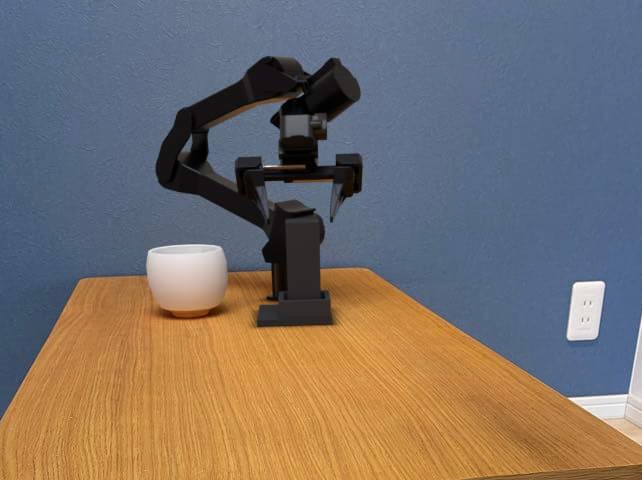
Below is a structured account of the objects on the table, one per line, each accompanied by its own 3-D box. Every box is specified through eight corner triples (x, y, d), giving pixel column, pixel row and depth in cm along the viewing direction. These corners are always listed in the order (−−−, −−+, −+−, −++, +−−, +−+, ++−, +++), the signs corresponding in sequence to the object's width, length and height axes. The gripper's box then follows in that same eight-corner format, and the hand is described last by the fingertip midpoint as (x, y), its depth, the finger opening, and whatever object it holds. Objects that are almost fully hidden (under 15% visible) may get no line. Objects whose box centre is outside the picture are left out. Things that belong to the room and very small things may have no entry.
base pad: (259, 311, 134) (258, 288, 133) (329, 309, 134) (329, 286, 133) (257, 326, 124) (256, 302, 123) (332, 324, 125) (332, 300, 123)
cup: (136, 320, 131) (128, 254, 126) (174, 304, 141) (168, 242, 137) (208, 324, 127) (203, 256, 122) (242, 307, 137) (239, 244, 133)
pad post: (288, 309, 130) (285, 219, 124) (319, 308, 130) (318, 218, 124) (288, 316, 126) (285, 222, 120) (321, 315, 126) (319, 221, 120)
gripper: (231, 95, 122) (229, 184, 117) (361, 90, 121) (365, 179, 116) (239, 153, 132) (238, 237, 127) (359, 149, 132) (363, 233, 127)
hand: (299, 221), depth 124 cm, fingers open, 9 cm apart
